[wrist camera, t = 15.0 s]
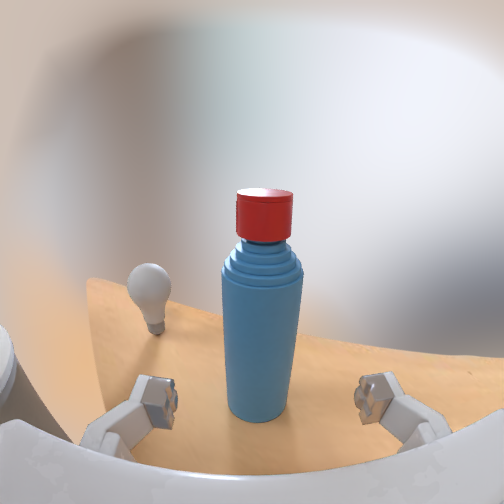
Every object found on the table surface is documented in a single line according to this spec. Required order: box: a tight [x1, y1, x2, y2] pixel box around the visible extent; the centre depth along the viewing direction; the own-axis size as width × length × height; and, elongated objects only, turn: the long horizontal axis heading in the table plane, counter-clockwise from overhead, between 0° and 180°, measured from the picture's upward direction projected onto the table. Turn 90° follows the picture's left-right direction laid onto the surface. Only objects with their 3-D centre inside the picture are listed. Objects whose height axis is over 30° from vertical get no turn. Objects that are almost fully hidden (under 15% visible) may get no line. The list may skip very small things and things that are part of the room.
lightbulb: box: [127, 263, 171, 334], centre depth 36 cm, size 6×6×11 cm
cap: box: [236, 189, 293, 242], centre depth 20 cm, size 4×4×3 cm
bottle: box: [221, 238, 304, 423], centre depth 23 cm, size 6×6×22 cm
